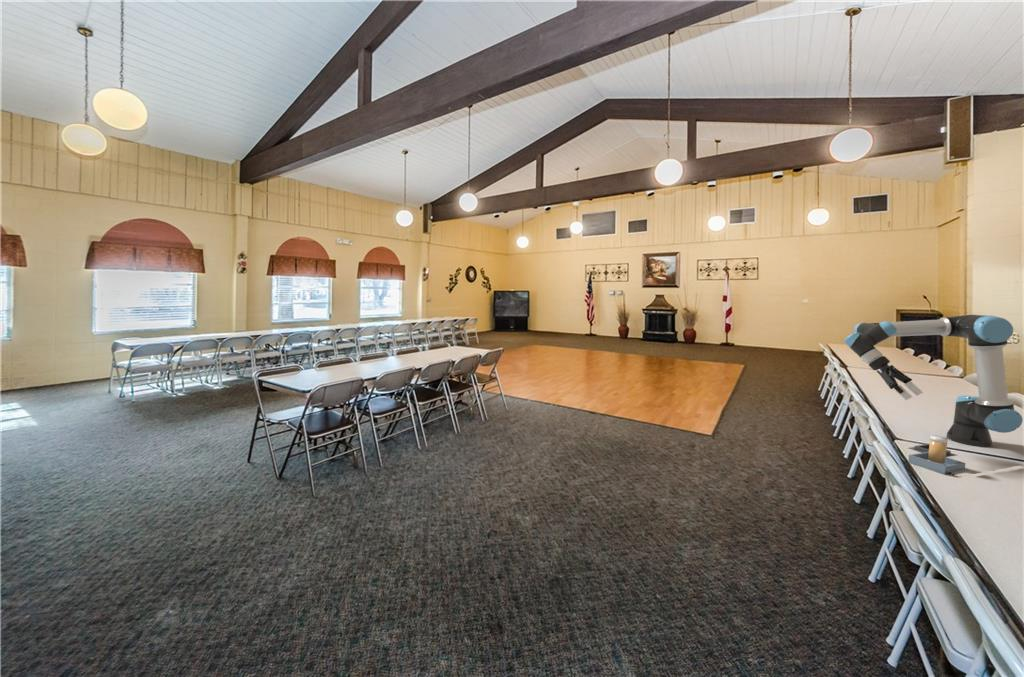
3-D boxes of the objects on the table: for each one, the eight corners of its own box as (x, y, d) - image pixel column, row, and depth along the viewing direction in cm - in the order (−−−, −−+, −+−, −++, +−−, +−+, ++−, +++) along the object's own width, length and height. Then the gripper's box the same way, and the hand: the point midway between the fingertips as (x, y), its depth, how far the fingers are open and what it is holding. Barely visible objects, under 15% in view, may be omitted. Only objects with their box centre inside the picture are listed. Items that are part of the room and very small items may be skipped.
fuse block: (924, 447, 194) (925, 442, 194) (957, 457, 183) (958, 451, 182) (907, 450, 191) (907, 445, 191) (939, 460, 179) (940, 454, 179)
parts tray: (927, 459, 180) (928, 451, 180) (964, 471, 169) (965, 463, 168) (908, 462, 177) (909, 454, 177) (944, 474, 165) (945, 466, 165)
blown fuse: (932, 461, 176) (935, 434, 175) (947, 466, 171) (950, 438, 170) (924, 462, 175) (927, 436, 173) (939, 467, 170) (942, 440, 168)
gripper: (878, 361, 205) (915, 396, 194) (857, 367, 193) (896, 404, 181) (892, 352, 200) (932, 388, 189) (872, 357, 187) (913, 395, 176)
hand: (914, 396), depth 185 cm, fingers open, 13 cm apart
